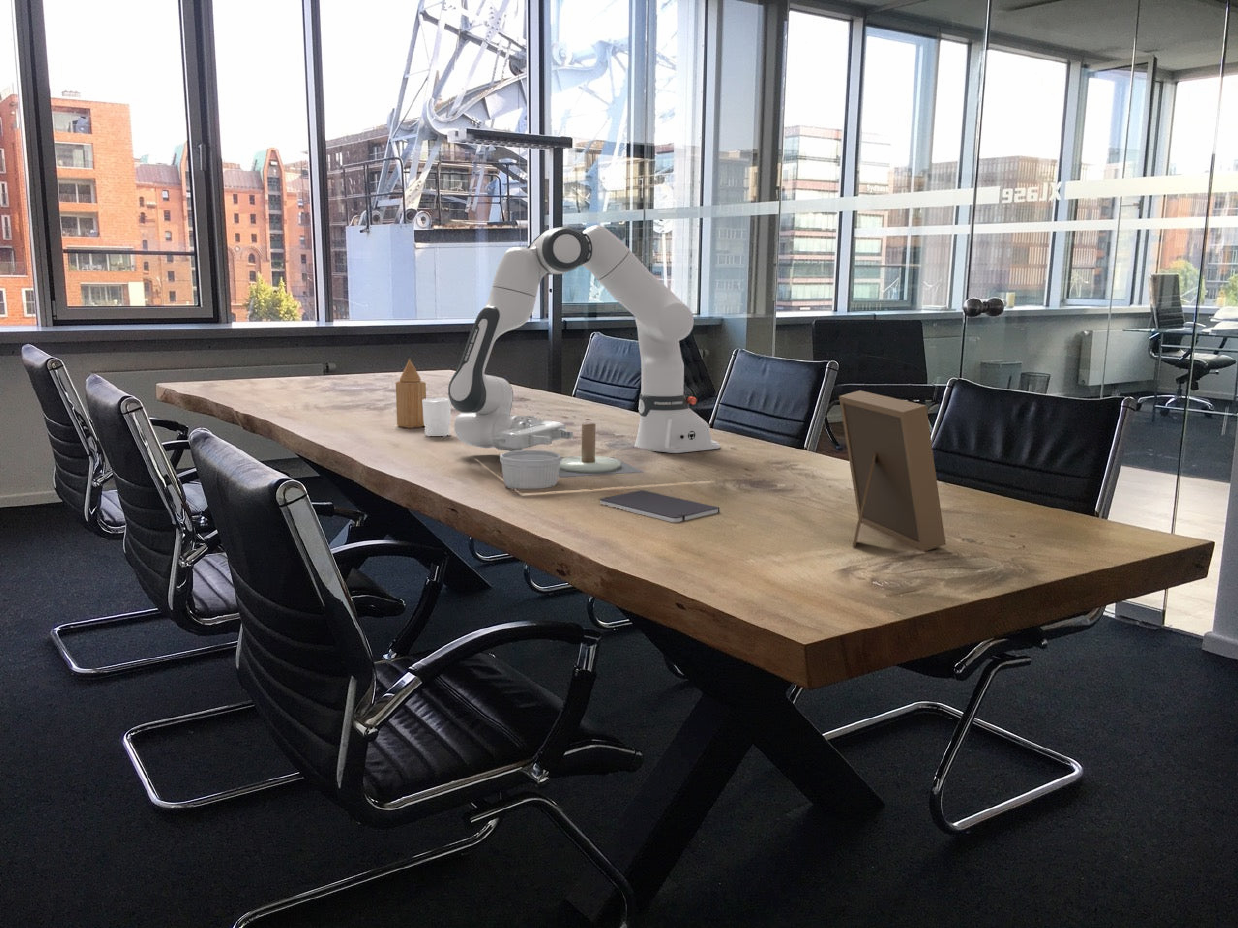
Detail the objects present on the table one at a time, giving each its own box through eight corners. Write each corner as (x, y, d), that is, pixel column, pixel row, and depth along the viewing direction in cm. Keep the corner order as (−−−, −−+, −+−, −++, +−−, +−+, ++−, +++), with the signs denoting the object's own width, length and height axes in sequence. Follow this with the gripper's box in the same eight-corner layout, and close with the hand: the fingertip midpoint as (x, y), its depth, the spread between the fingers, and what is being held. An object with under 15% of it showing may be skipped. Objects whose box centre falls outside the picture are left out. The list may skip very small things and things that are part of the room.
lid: (607, 459, 254) (607, 417, 252) (629, 470, 241) (630, 427, 239) (548, 462, 249) (548, 420, 247) (568, 474, 235) (568, 429, 233)
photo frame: (879, 520, 198) (886, 389, 194) (945, 550, 178) (955, 404, 173) (808, 524, 194) (814, 391, 189) (868, 555, 174) (876, 407, 169)
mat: (613, 459, 258) (613, 456, 257) (643, 474, 239) (643, 471, 239) (535, 463, 251) (535, 461, 250) (560, 479, 232) (560, 477, 232)
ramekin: (574, 486, 226) (574, 454, 225) (528, 495, 217) (528, 462, 215) (532, 477, 235) (532, 447, 234) (487, 486, 226) (487, 454, 224)
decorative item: (396, 426, 307) (394, 358, 303) (415, 424, 311) (413, 356, 308) (408, 428, 302) (406, 359, 298) (427, 426, 307) (426, 358, 303)
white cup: (436, 438, 286) (435, 402, 284) (417, 435, 291) (416, 399, 289) (457, 434, 292) (456, 399, 291) (437, 432, 297) (437, 397, 295)
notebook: (719, 515, 203) (642, 497, 218) (719, 507, 203) (642, 489, 218) (674, 525, 195) (597, 506, 210) (675, 517, 194) (597, 498, 209)
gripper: (487, 425, 245) (536, 430, 238) (536, 415, 262) (583, 419, 255) (487, 452, 246) (536, 457, 239) (536, 440, 263) (583, 444, 257)
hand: (561, 438), depth 247 cm, fingers open, 8 cm apart
